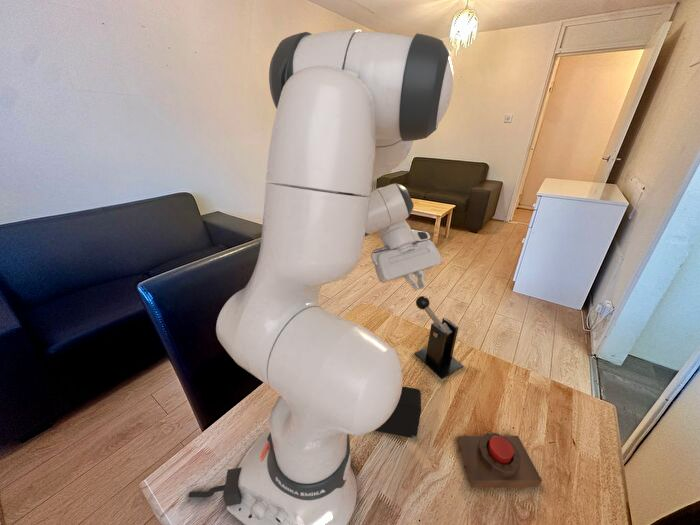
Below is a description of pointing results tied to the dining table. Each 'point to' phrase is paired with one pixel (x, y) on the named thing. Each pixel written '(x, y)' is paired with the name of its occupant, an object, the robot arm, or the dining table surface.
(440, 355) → the bracket
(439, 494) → the dining table surface
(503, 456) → the button
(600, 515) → the dining table surface
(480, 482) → the button block
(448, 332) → the lever
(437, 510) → the dining table surface
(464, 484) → the dining table surface
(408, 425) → the electronic device
